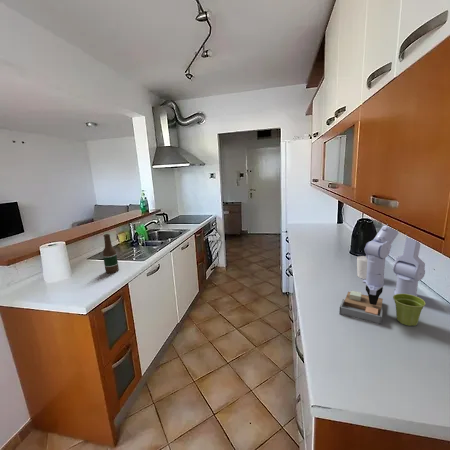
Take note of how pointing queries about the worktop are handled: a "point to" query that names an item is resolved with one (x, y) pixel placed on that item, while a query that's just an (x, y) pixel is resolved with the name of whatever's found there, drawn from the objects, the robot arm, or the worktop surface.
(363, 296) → the board
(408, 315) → the plant pot
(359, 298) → the tile sage
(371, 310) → the tile terracotta
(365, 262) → the white cup
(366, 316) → the tray
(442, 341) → the worktop surface
